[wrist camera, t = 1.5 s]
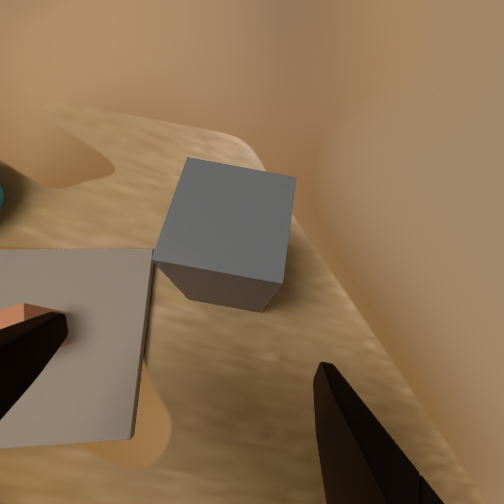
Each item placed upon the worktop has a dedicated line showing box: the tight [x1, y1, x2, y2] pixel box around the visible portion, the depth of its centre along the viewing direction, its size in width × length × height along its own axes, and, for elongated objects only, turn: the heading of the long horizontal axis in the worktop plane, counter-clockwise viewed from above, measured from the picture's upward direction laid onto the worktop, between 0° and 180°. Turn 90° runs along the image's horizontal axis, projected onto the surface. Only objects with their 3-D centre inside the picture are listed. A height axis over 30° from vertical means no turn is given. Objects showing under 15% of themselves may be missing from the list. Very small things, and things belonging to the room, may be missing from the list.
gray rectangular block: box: [151, 157, 296, 313], centre depth 17 cm, size 6×6×10 cm
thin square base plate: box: [0, 248, 154, 448], centre depth 17 cm, size 14×14×5 cm
